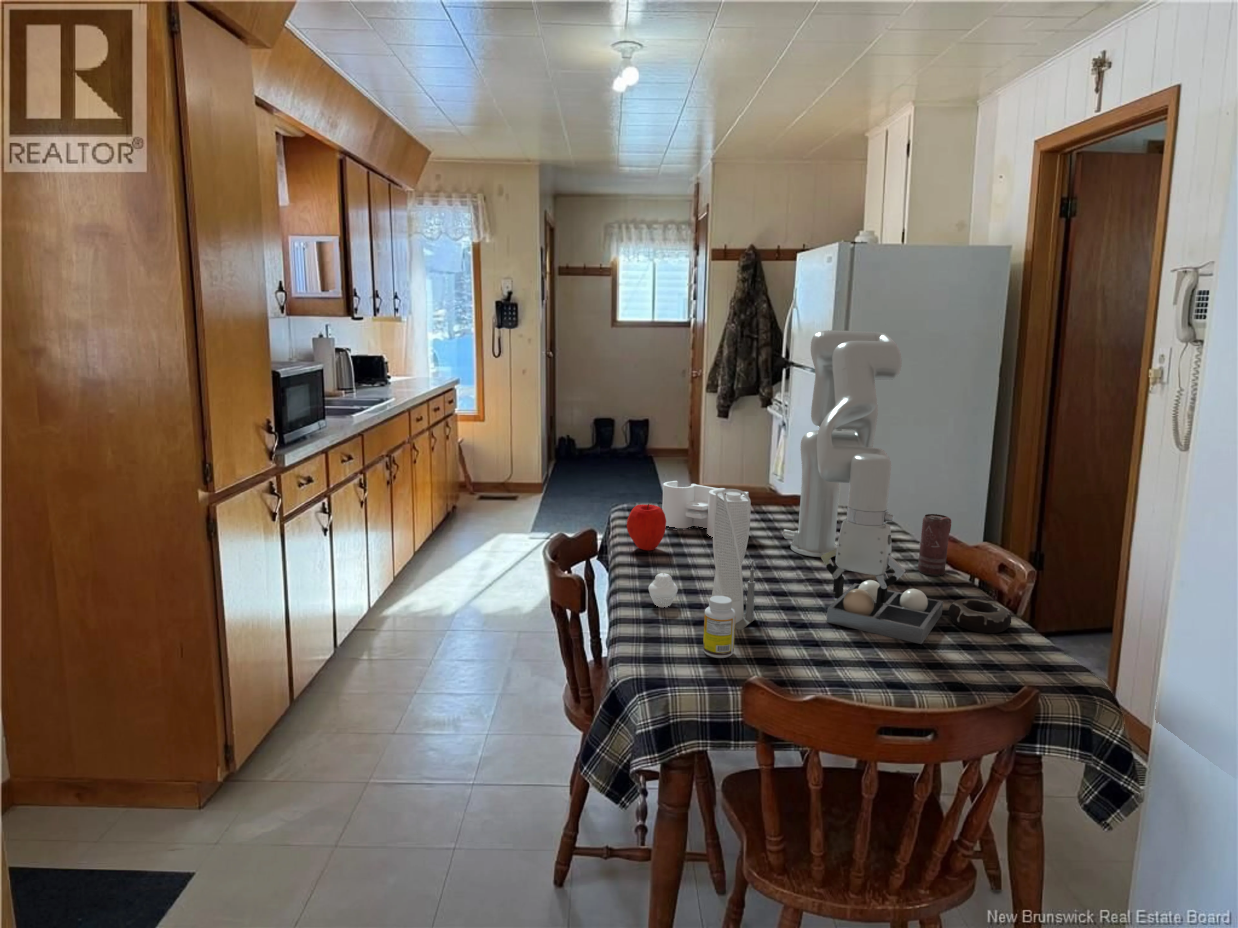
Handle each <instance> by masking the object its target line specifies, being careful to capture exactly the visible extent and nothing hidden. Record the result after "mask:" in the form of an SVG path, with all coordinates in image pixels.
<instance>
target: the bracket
mask: <svg viewBox="0 0 1238 928" xmlns="http://www.w3.org/2000/svg"><path fill="white" fill-rule="evenodd" d="M678 485H679V481H678V480H672V481H665V482H663V486H662V504H661V505H662V507H661V509H662V510H663V512H664V514H665V517H666V526H669V527H675V528H688V527H691V526H693V525H694V526H699V527H703V528H707V529H706V535H707V534H708V535H709V536H711V537H710V538H712V537H713V518H714V506H715V497H716V493H717V492H719V491H723V490H725V489H726V488H725V487H720V488H718V487H715V486H714V487H712V486H706V485H701V484H696V483H691V484H690V486H684V487H683V486H682V487H680V486H678ZM744 492H745V493H746V494H747V495H748V496H749V491H744ZM718 495H723V494H722V493H721V494H718ZM741 496H743V497H744V498H746V497H745V495H743V494H742V493H741ZM746 499H747V498H746ZM703 528H702V529H703ZM708 535H707V536H708ZM709 536H708V537H709Z"/></svg>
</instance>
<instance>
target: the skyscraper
mask: <svg viewBox="0 0 1238 928" xmlns="http://www.w3.org/2000/svg"><path fill="white" fill-rule="evenodd" d="M745 492H746V491H743V490H741V489H737V488H725V490H723V491H719V492H717V493H716V497H715V506H714V518H713V538H712V552H713V560H714V566H715V567H714V568H715V572H714V577H713V584H712V585H713V586H712V592H711V597H713V596H725V597H729V598H730V599H731V600H732V609H734V610H735V613H736V618H735V630H738V631H742V630H743V629H745V628H746V627H747V626H749V625H750V624H751V623H752V622H753V621H755V620H756V618H755V616H754V614H755V613H754V609H755V604H756V602H755V587H756V581H754V580H755V579H754V578H755V577H754V574H755V568H754V563H755V561H754V560H751V568H750V572H749V573H750V574H749V580H748V581H747V595H746V602H745V610H744V587H743V586H744V583H743V571H742V570H743V569H742V565H743V562H744V559H745V555H746V553H747V552H746V551H747V547H748V543H749V542H748V541H749V536H750V528H751V527H750V526H751V508H752V507H751V505H752V504H751V503H752V502H751V501H752V500H751V498H750V496H749V494H748V495H747V494H746V493H745ZM721 493H722V494H723V495H718V494H721ZM742 494H743V495H745V497H746V498H747V499H746V498H744V497H743V496H741V495H742ZM744 611H745V615H744Z"/></svg>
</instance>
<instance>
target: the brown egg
mask: <svg viewBox="0 0 1238 928" xmlns="http://www.w3.org/2000/svg"><path fill="white" fill-rule="evenodd" d="M843 606H844V609H845V611H850V612H854V613H859V614H863V615H868V616H869V615H870V614H871V613H872V611H873V609H874V600H873V598H872V596H871V595H870V594H869V593H868V592H867V591H865V590H863V589H853V590H851V591H849V592H848V593H847V594H846V595H845V597H844V600H843Z"/></svg>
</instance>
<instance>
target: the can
mask: <svg viewBox="0 0 1238 928" xmlns="http://www.w3.org/2000/svg"><path fill="white" fill-rule="evenodd" d="M951 529H952V519H951V518H950V517H948V516H947V515H945V514H944V515H942V514H937V513H928V514H925V515H924V517H923V518H922V526H921V533H920V534H921V535H920V542H919V543H920V544H919V545H920V546H919V552H918V553H919V554H918V564H917V569H918V570H917V571H918V572H919V573H921V574H923V575H926V576H931V577H941V576H943V575H944V574H945V573H946V566H947V565H946V564H947V556H948V546H949V539H950V538H949V537H950V533H951ZM940 575H941V576H940Z"/></svg>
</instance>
